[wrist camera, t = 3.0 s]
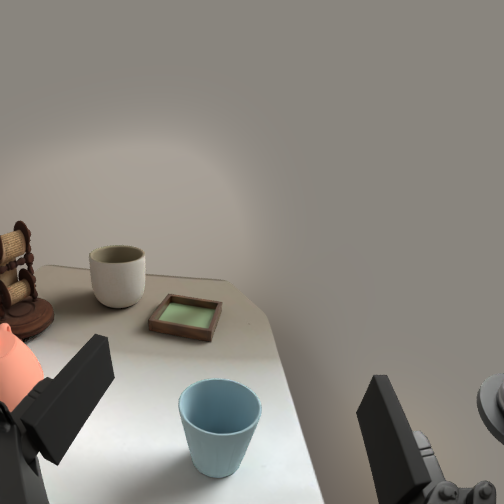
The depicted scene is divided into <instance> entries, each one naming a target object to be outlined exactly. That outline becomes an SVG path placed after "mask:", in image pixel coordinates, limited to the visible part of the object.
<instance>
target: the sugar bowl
mask: <svg viewBox="0 0 504 504" xmlns="http://www.w3.org/2000/svg"><path fill="white" fill-rule="evenodd" d="M41 380H43V371H42V368H41V366H40V363H39V362H38V360H37V358H36V357H35V355H34V354H33V352H32V351H31V350H30V349H29V347H28V346H27V345H26V344H24V343H23V342H22V341H21V340H20V339H19V338H18V337H17V336H15V335H14V334H12V331H11V328H10V326H9V324H7V323H2V324H0V401H1V402H3V403H5V405H6V406H7V407H8V409H9V411H10V412H12V411H13V410H14V409H15V407H16V406H17V405H18V404H19V403H20V402H21V401H22V399H23V398H24V397H25V396H26V395H28V393H29V392H30V391H31V390H32V388H33V387H34V386H35V385H36V384H37V383H38V382H39V381H41Z"/></svg>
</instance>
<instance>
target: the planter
mask: <svg viewBox="0 0 504 504" xmlns="http://www.w3.org/2000/svg"><path fill="white" fill-rule="evenodd" d="M89 262H90V273H91V282H92V288H93V292H94V294H95V296H96V298H97V299H98V300H99V301H100V302H101V303H102V304H104V305H105V306H108V307H112V308H125V307H129V306H131V305H133V304H135V303H137V302H138V301H139V300H140V298H141V297H142V295H143V292H144V287H145V252H144V251H143V250H141V249H139V248H136V247H132V246H124V245H115V246H114V245H113V246H105V247H101V248H98V249H95V250H93V251H92V252H91V253H90V254H89Z"/></svg>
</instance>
